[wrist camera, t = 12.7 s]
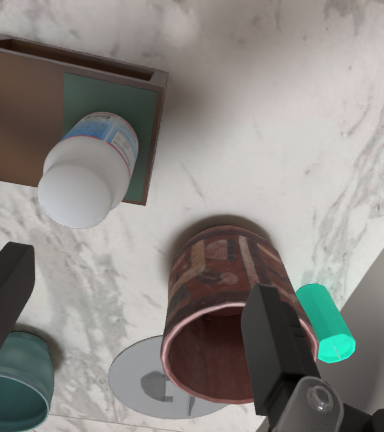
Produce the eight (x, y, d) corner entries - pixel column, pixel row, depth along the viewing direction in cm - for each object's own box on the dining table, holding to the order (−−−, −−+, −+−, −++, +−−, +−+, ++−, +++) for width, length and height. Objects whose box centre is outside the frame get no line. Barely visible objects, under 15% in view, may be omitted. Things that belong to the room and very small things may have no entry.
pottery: (163, 297, 55) (156, 404, 40) (169, 206, 46) (164, 298, 31) (265, 302, 57) (297, 407, 41) (291, 215, 48) (344, 307, 32)
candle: (320, 310, 58) (351, 373, 48) (288, 307, 57) (312, 370, 47) (333, 285, 55) (369, 346, 45) (299, 281, 54) (327, 342, 44)
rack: (3, 34, 35) (-60, 38, 26) (168, 72, 38) (164, 87, 28) (10, 141, 41) (-39, 175, 32) (152, 168, 43) (145, 207, 34)
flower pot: (-18, 306, 55) (-59, 364, 46) (77, 330, 59) (58, 389, 50) (-27, 363, 63) (-63, 423, 53) (58, 381, 66) (38, 440, 57)
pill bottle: (66, 158, 31) (14, 218, 22) (85, 98, 29) (36, 136, 19) (126, 183, 33) (103, 250, 23) (150, 128, 30) (135, 179, 20)
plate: (236, 418, 75) (237, 423, 74) (112, 417, 73) (111, 423, 72) (256, 335, 61) (257, 341, 60) (103, 332, 59) (102, 338, 58)
